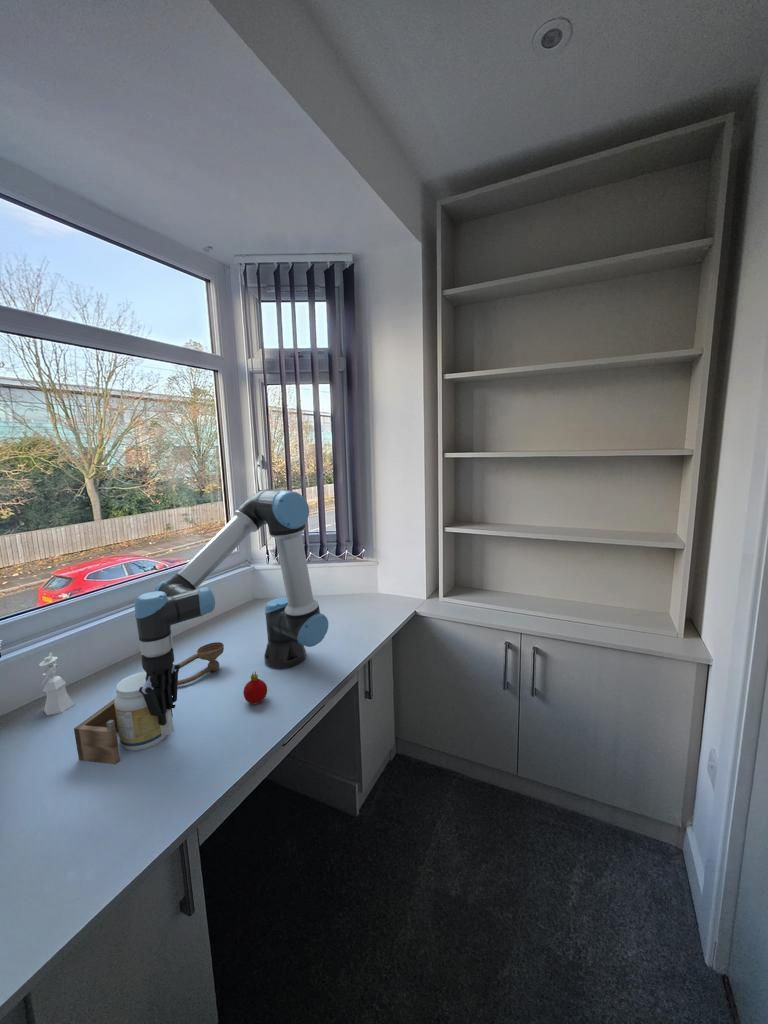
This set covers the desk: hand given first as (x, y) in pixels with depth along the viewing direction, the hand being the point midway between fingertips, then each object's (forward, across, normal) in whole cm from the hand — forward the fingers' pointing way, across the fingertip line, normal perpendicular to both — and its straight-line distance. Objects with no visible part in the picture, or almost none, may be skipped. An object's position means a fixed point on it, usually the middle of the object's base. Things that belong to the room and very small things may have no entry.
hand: (167, 732), depth 115 cm
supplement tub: (+3, 0, -7) cm, 8 cm away
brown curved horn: (+3, -35, -15) cm, 38 cm away
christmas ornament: (+3, -20, +16) cm, 26 cm away
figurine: (+3, -9, -45) cm, 46 cm away
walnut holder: (+2, 0, -13) cm, 14 cm away
